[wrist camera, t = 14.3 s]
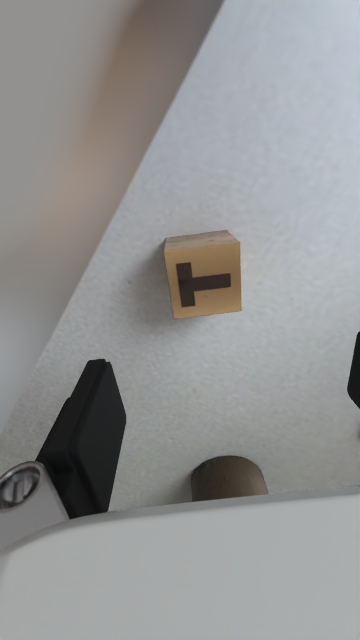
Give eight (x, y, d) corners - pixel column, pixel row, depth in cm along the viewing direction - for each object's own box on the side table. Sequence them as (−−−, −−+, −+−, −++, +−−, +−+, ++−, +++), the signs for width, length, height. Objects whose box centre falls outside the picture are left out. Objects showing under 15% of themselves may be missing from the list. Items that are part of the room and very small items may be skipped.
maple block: (165, 237, 22) (163, 251, 18) (226, 229, 22) (240, 242, 17) (174, 294, 24) (173, 319, 20) (229, 287, 24) (241, 311, 20)
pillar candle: (197, 452, 34) (211, 626, 21) (271, 458, 35) (331, 629, 21) (185, 497, 38) (191, 666, 25) (252, 502, 39) (292, 667, 26)
